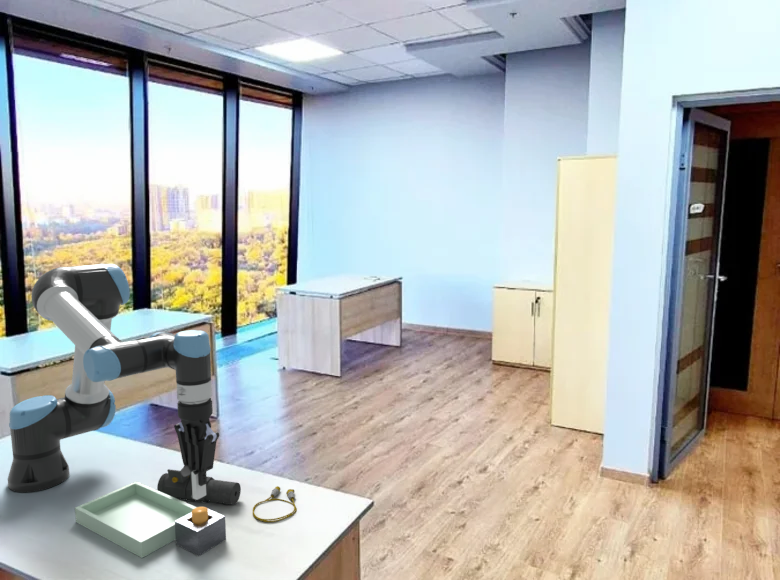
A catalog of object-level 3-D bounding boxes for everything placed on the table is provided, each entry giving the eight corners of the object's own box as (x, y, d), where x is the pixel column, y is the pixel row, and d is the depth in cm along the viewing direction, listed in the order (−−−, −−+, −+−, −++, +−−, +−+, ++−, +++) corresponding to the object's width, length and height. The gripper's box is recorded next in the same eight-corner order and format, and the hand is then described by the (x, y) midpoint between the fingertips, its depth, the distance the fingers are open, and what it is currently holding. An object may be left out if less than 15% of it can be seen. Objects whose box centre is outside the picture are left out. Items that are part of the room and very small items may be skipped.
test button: (189, 531, 138) (188, 511, 138) (201, 524, 141) (200, 505, 141) (199, 536, 137) (198, 516, 136) (211, 529, 140) (211, 509, 139)
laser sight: (227, 513, 153) (225, 477, 151) (150, 503, 158) (148, 467, 156) (244, 495, 162) (243, 461, 160) (171, 486, 167) (169, 452, 165)
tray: (75, 522, 148) (74, 507, 147) (137, 494, 162) (136, 481, 161) (142, 558, 133) (141, 542, 133) (203, 524, 147) (202, 509, 147)
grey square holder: (175, 544, 138) (174, 521, 137) (203, 529, 145) (202, 506, 144) (198, 556, 134) (197, 531, 133) (226, 539, 141) (225, 516, 140)
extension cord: (314, 501, 160) (314, 494, 160) (276, 528, 146) (276, 521, 146) (278, 490, 166) (278, 483, 165) (239, 515, 152) (239, 508, 152)
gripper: (162, 398, 135) (167, 495, 138) (200, 409, 128) (205, 511, 131) (189, 389, 141) (194, 483, 144) (227, 399, 134) (231, 497, 137)
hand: (199, 496), depth 138 cm, fingers closed
